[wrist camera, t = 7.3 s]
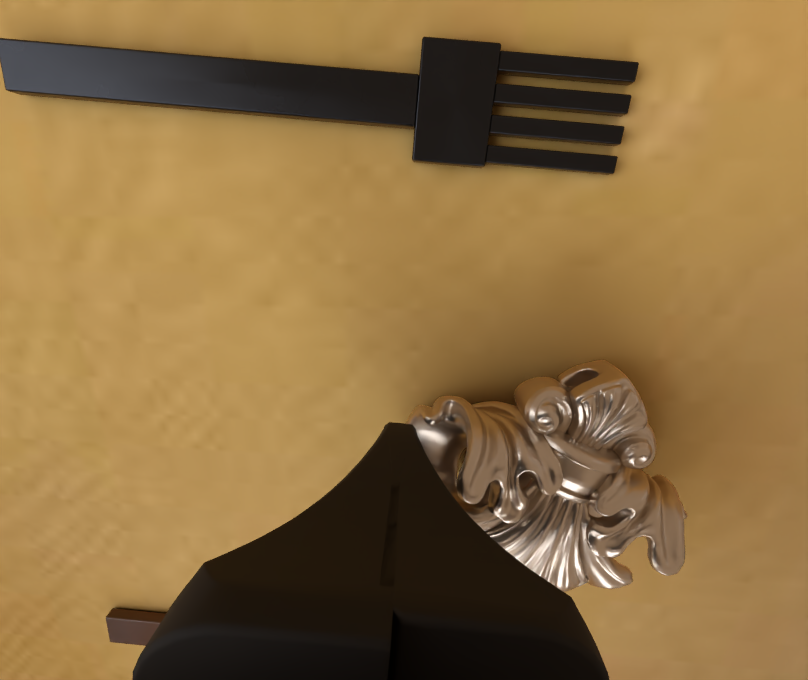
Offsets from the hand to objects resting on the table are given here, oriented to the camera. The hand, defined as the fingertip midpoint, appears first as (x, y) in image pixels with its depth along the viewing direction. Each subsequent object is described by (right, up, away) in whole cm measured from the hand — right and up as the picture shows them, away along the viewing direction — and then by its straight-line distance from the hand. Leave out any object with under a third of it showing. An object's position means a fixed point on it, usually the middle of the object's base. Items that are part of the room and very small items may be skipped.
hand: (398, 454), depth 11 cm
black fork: (-2, +9, -1) cm, 10 cm away
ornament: (+4, 0, +2) cm, 4 cm away
